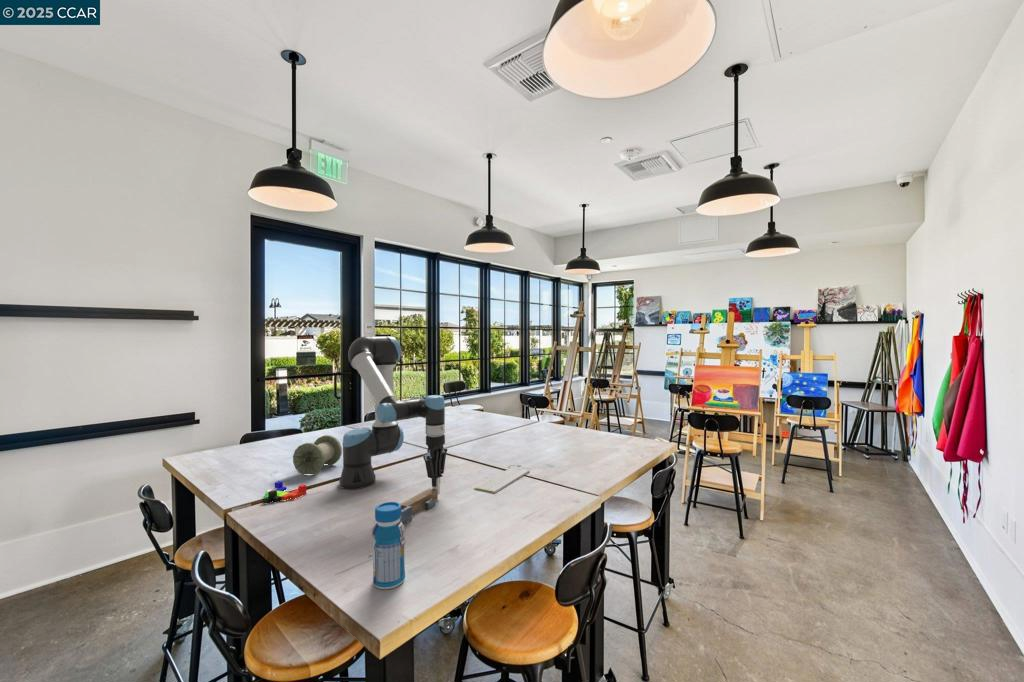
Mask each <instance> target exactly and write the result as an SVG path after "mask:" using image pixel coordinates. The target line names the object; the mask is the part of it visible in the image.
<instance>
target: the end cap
mask: <svg viewBox="0 0 1024 682" xmlns="http://www.w3.org/2000/svg"><path fill="white" fill-rule="evenodd" d="M400 520H401V522H402V523H403V525H405V524H407V523H409V522H410V521H412V520H413V514H412V507H411V506H408V507H406V508H404V509H402V515H401V518H400Z"/></svg>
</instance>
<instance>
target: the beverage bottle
mask: <svg viewBox="0 0 1024 682" xmlns="http://www.w3.org/2000/svg"><path fill="white" fill-rule="evenodd" d="M401 515H402V507H401V504H400V502H398V501H386V502H383V503H379V504H377V505H376V506H375V509H374V519H375V522H376V524H375V525H374V527H373V530H372V537H373V539H372V542H371V548H372V562H373V563H372V566H373V569H372V571H373V572H372V573H373V576H372V583H373V586H374V587H376V588H377V589H379V590H391V589H394V588H396V587H398V586H400V585H402V583H404V581H405V579H406V569H405V544H406V537H405V535H404V533H405V531H406V530H405V525H404V524H403V523H402V522H401V520H400V518H401Z"/></svg>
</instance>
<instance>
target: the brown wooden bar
mask: <svg viewBox="0 0 1024 682" xmlns="http://www.w3.org/2000/svg"><path fill="white" fill-rule="evenodd" d="M438 497H439V494H438V490H436V489H432V488H431V487H429V488H427V489H426V490H423V491H422V492H420V493H418V494H416V495H413V496H412V497H410V498H408V499H406V500H404V501H403V502H401V503H400V502H399V503H400V504H401V507H402V509H404V508H406V507H408V506H411V507H412V515H414V514H416V513H417V512H419V511H421V510H422V509H425V502H427V501H429V500H430V499H435V502H436V501H438V499H439V498H438Z"/></svg>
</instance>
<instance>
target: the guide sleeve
mask: <svg viewBox="0 0 1024 682" xmlns="http://www.w3.org/2000/svg"><path fill="white" fill-rule="evenodd" d="M435 506H436V501H435V499H430V500H429V501H427V502H425V507H424V509H425V510H427V511H428V510H429V511H430V510H431V509H432V508H434V507H435Z"/></svg>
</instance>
